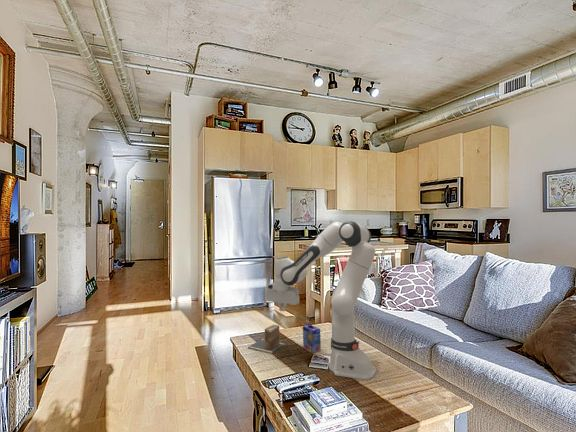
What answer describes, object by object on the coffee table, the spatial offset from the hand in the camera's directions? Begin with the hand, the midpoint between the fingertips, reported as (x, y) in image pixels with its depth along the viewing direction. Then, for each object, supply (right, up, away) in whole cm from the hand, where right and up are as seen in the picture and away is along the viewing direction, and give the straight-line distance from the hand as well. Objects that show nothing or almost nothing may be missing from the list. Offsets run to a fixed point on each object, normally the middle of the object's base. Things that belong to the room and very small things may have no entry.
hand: (282, 310), depth 184 cm
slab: (-6, -21, +3) cm, 22 cm away
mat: (-9, -22, +5) cm, 25 cm away
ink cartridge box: (+16, -22, +2) cm, 28 cm away
